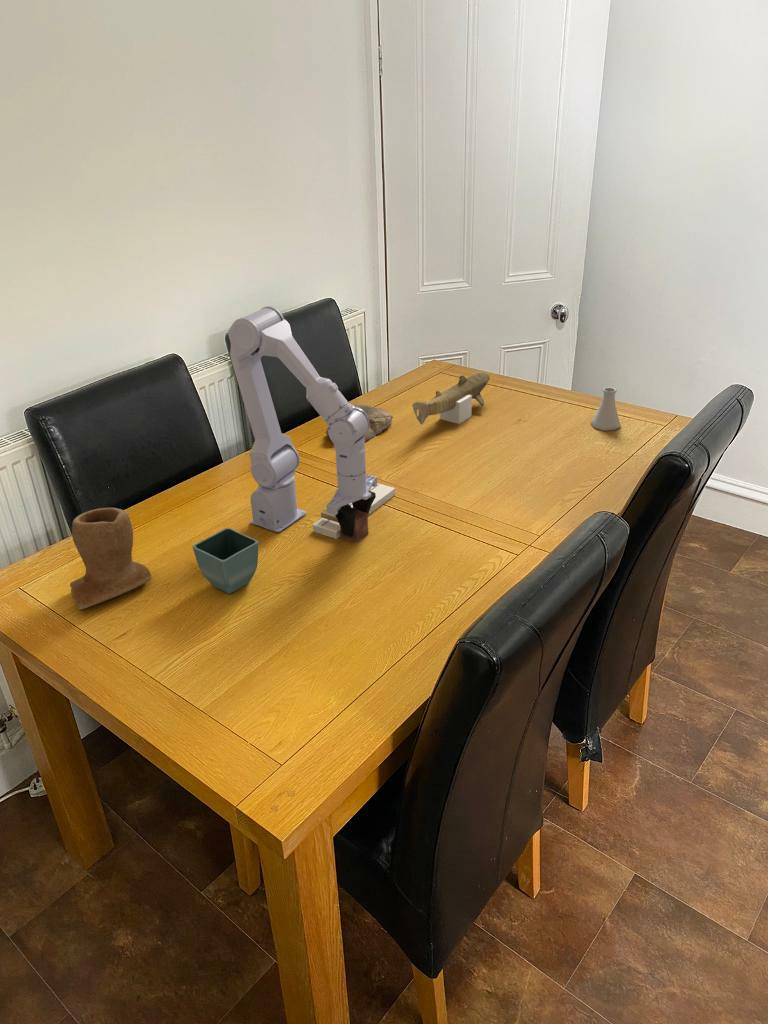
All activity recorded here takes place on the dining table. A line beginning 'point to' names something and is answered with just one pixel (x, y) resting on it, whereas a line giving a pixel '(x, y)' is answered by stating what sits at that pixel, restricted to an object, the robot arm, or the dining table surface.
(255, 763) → the dining table surface
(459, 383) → the wood carving
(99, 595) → the stone cup
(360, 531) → the chocolate popsicle
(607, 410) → the flask
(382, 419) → the grey brown rock
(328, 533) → the board
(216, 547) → the flower pot
